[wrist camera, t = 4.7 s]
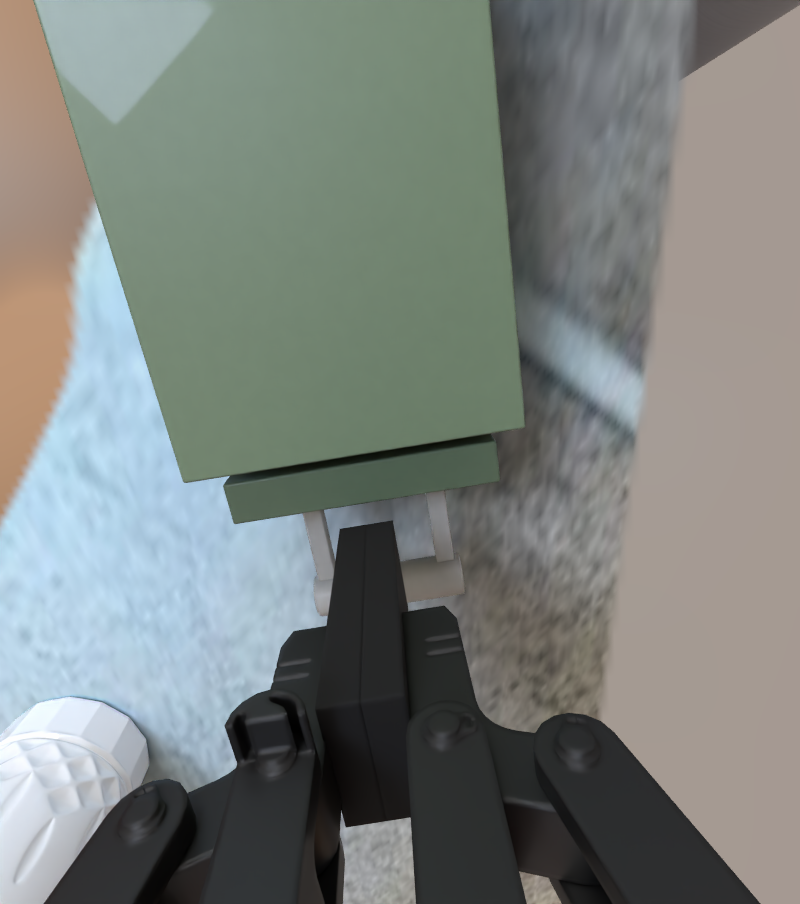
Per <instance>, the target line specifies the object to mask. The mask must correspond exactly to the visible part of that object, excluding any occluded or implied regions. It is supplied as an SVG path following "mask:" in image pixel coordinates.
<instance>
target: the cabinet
mask: <svg viewBox="0 0 800 904" xmlns="http://www.w3.org/2000/svg"><path fill="white" fill-rule="evenodd" d="M33 1H34V4H35V7H36V11H37V14H38V17H39V20H40V24H41V27H42V30H43V33H44V36H45V40H46V43H47V46H48V49H49V52H50V56H51V59H52V62H53V65H54V68H55V71H56V75H57V78H58V81H59V85H60V88H61V91H62V94H63V97H64V100H65V104H66V107H67V110H68V113H69V117H70V120H71V123H72V126H73V129H74V133H75V136H76V139H77V142H78V145H79V149H80V152H81V155H82V158H83V161H84V164H85V168H86V171H87V174H88V177H89V181H90V184H91V187H92V190H93V194H94V197H95V200H96V203H97V206H98V210H99V213H100V216H101V219H102V223H103V226H104V229H105V232H106V235H107V239H108V242H109V245H110V248H111V251H112V255H113V258H114V261H115V264H116V267H117V271H118V274H119V277H120V280H121V284H122V287H123V290H124V293H125V296H126V300H127V303H128V306H129V309H130V312H131V316H132V319H133V322H134V325H135V328H136V332H137V335H138V338H139V341H140V344H141V348H142V351H143V354H144V357H145V361H146V364H147V367H148V370H149V373H150V377H151V380H152V383H153V386H154V389H155V393H156V396H157V399H158V402H159V405H160V409H161V412H162V415H163V418H164V422H165V425H166V428H167V431H168V434H169V438H170V441H171V444H172V447H173V450H174V454H175V457H176V460H177V463H178V466H179V470H180V473H181V476H182V479H183V482H184V483H188V482H195V481H201V480H207V479H213V478H219V477H225V476H232V475H238V474H244V473H250V472H256V471H262V470H269V469H275V468H281V467H287V466H293V465H299V464H306V463H312V462H318V461H324V460H330V459H336V458H343V457H349V456H355V455H361V454H367V453H373V452H380V451H386V450H392V449H398V448H404V447H411V446H417V445H423V444H429V443H435V442H441V441H448V440H454V439H460V438H466V437H472V436H478V435H485V434H491V433H497V432H503V431H509V430H515V429H522V428H524V427H525V414H524V402H523V390H522V378H521V366H520V355H519V343H518V331H517V319H516V307H515V295H514V284H513V272H512V260H511V248H510V236H509V225H508V213H507V201H506V189H505V177H504V165H503V154H502V142H501V130H500V118H499V106H498V95H497V83H496V71H495V59H494V47H493V36H492V24H491V12H490V0H33Z"/></svg>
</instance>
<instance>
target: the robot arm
mask: <svg viewBox="0 0 800 904" xmlns="http://www.w3.org/2000/svg"><path fill="white" fill-rule="evenodd" d="M225 728H226V731H227V734H228V737H229V740H230V743H231V746H232V749H233V752H234V755H235V758H236V761H237V767H236V769H234V770H233V771H232V772H230V773H229V774H227V775H226V776H224V777H222V778H220V779H218V780H216V781H214V782H212V783H210V784H207V785H205V786H203V787H201V788H198V789H196V790H194V791H192V792H189V793H187V792H186V790H185V789H184V788H183V786H182V785H181V784H180V783H179V782H176V781H173V780H170V779H164V780H156V781H152V782H149V783H147V784H145V785H142V786H140V787H138V788H136V789H135V790H133V791H132V792H130V793H129V794H128V795H126V796H125V797H124V798H122V799H121V800H120V801H119V802H118V803H117V804H116V805H115V806H114V808H113V809H112V810H111V811H110V812H109V813H108V814H107V816H106V817H105V818H104V820H103V821H102V823H101V824H100V825H99V827H98V828H97V830H96V831H95V832H94V834H93V835H92V837H91V838H90V839H89V841H88V842H87V843H86V845H85V846H84V848H83V849H82V850H81V852H80V853H79V855H78V856H77V857H76V859H75V860H74V862H73V863H72V864H71V866H70V867H69V869H68V870H67V871H66V873H65V874H64V876H63V877H62V878H61V880H60V881H59V883H58V884H57V885H56V887H55V888H54V890H53V891H52V892H51V894H50V895H49V897H48V898H47V899H46V901H45V902H44V904H343V886H344V866H345V858H344V851H343V846H342V842H341V838H340V820H341V810H342V814H343V818H344V822H345V826H346V827H351V826H358V825H364V824H370V823H377V822H383V821H390V820H396V819H402V818H409V817H411V828H412V844H413V860H414V876H415V893H416V904H527V903H526V899H525V895H524V891H523V886H522V882H521V878H520V874H519V871H520V872H525V873H530V874H534V875H539V876H544V877H548V878H549V879H550V882H551V884H552V886H553V888H554V889H555V891H556V893H557V895H558V897H559V899H560V901H561V903H562V904H760V903H759V902H758V900H757V899H756V898H755V897H754V896H753V894H752V893H751V892H750V891H749V890H748V889H747V887H746V886H745V885H744V884H743V883H742V882H741V880H740V879H739V878H738V877H737V876H736V875H735V873H734V872H733V871H732V870H731V869H730V868H729V867H728V865H727V864H726V863H725V862H724V860H723V859H722V858H721V857H720V856H719V855H718V853H717V852H716V851H715V850H714V849H713V848H712V846H711V845H710V844H709V843H708V842H707V841H706V839H705V838H704V837H703V836H702V835H701V834H700V832H699V831H698V830H697V829H696V828H695V826H694V825H693V824H692V823H691V822H690V821H689V819H688V818H687V817H686V816H685V815H684V814H683V812H682V811H681V810H680V809H679V808H678V807H677V805H676V804H675V803H674V802H673V801H672V800H671V799H670V797H669V796H668V795H667V794H666V793H665V791H664V790H663V789H662V788H661V787H660V786H659V784H658V783H657V782H656V781H655V780H654V779H653V778H652V776H651V775H650V774H649V773H648V771H647V770H646V769H645V768H644V767H643V766H642V764H641V763H640V762H639V761H638V760H637V759H636V757H635V756H634V755H633V754H632V753H631V752H630V751H629V749H628V748H627V747H626V746H625V745H624V743H623V742H622V741H621V740H620V739H619V738H618V736H617V735H616V734H615V733H614V732H613V731H612V730H611V729H610V728H608V727H607V726H606V725H605V724H604V723H602V722H601V721H599V720H596V719H594V718H592V717H589V716H587V715H582V714H574V713H566V714H561V715H556V716H553V717H551V718H550V719H548V720H546V721H545V722H543V723H542V724H541V725H540V727H539V728H538V730H537V731H536V733H529V732H522V731H515V730H511V729H507V728H504V727H501V726H499V725H497V724H495V723H493V722H492V721H491V720H489V719H488V718H487V717H486V716H485V715H484V714H483V713H482V711H481V710H480V709H479V707H478V704H477V702H476V698H475V694H474V690H473V686H472V681H471V677H470V673H469V669H468V664H467V660H466V656H465V652H464V648H463V643H462V639H461V635H460V630H459V626H458V622H457V618H456V617H455V616H454V615H453V614H452V613H451V612H450V611H449V610H448V609H447V608H446V607H445V606H439V607H433V608H426V609H420V610H414V611H408V606H407V599H406V593H405V587H404V582H403V576H402V571H401V565H400V559H399V554H398V548H397V542H396V537H395V531H394V526H393V520H392V521H386V522H380V523H374V524H368V525H361V526H355V527H349V528H343V529H340V532H339V539H338V547H337V554H336V561H335V568H334V576H333V583H332V590H331V597H330V604H329V612H328V619H327V626H324V627H317V628H311V629H305V630H299V631H294V632H293V633H292V634H291V635H290V637H289V638H288V639H287V641H286V642H285V643H284V645H283V646H282V647H281V650H280V654H279V658H278V662H277V668H276V670H275V674H274V678H273V683H272V686H271V690H268V691H264V692H261V693H258V694H256V695H254V696H252V697H250V698H249V699H247V700H245V701H244V702H242V703H241V704H240V705H239V706H238V707H237V708H236V709H235V710H234V711H233V712H232V713H231V715H230V717H229V719H228V720H227V722H226V724H225Z"/></svg>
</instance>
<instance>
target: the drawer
mask: <svg viewBox="0 0 800 904" xmlns="http://www.w3.org/2000/svg"><path fill="white" fill-rule="evenodd" d="M498 481H500V473H499V463H498V454H497V444H496V441H495V440H494V438H493V437H492V435H491V434H485V435H478V436H472V437H466V438H460V439H454V440H448V441H441V442H435V443H429V444H423V445H417V446H411V447H404V448H398V449H392V450H386V451H380V452H373V453H367V454H361V455H355V456H349V457H343V458H336V459H330V460H324V461H318V462H312V463H306V464H299V465H293V466H287V467H281V468H275V469H269V470H262V471H256V472H250V473H244V474H238V475H232V476H230V477H229V478H228V479H227V481H226V482H225V484H224V486H223V487H224V491H225V494H226V498H227V501H228V505H229V508H230V512H231V515H232V519H233V522H234V524H238V523H244V522H251V521H257V520H263V519H269V518H275V517H282V516H288V515H294V514H300V513H303V517H304V521H305V525H306V530H307V534H308V538H309V542H310V546H311V551H312V555H313V559H314V563H315V567H316V571H317V575H316V576H315V579H314V598H315V604H316V608H317V611H318V613H319V615H320V616H327V615H328V612H329V604H330V597H331V590H332V583H333V576H334V568H335V558H334V554H333V549H332V545H331V540H330V536H329V531H328V527H327V522H326V518H325V513H324V510H325V509H331V508H338V507H344V506H350V505H356V504H363V503H369V502H375V501H381V500H387V499H394V498H400V497H406V496H412V495H418V494H425V493H426V498H427V505H428V511H429V518H430V524H431V531H432V537H433V544H434V550H435V556H431V557H424V558H418V559H412V560H405V561H400V565H401V571H402V576H403V582H404V587H405V593H406V599H407V603H409V602H415V601H422V600H428V599H434V598H441V597H447V596H453V595H460V594H464V593H465V582H464V576H463V570H462V565H461V560H460V557H459V554H458V553H454V552H453V545H452V538H451V531H450V524H449V517H448V510H447V503H446V496H445V490H450V489H456V488H462V487H468V486H474V485H481V484H487V483H493V482H498Z"/></svg>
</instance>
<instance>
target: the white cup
mask: <svg viewBox="0 0 800 904" xmlns="http://www.w3.org/2000/svg"><path fill="white" fill-rule="evenodd" d="M148 767H149V756H148V749H147V741H146V738H145V737H144V736H143V734H142V733H141V732H140V731H139V729H138V728H137V727H136V725H135V724H134V723H133V722H132V720H131V719H130V718H129V717H128V716H126V715H124V714H122V713H121V712H119V711H117V710H115V709H114V708H112V707H110V706H108V705H106V704H105V703H103V702H98V701H93V700H87V699H82V698H76V697H64V698H59V699H53V700H48V701H42V702H38V703H37V704H36V705H34V706H33V707H31V708H30V709H28V710H27V711H26V712H24V713H23V714H21V715H20V716H19V717H17V718H16V719H15V720H14V721H13V722H12V723H11V724H10V725H9V727H8V728H7V729H6V730H5V731H4V732H3V733H2V735H1V736H0V904H44V902H45V901H46V899H47V898H48V897H49V895H50V894H51V892H52V891H53V890H54V888H55V887H56V885H57V884H58V883H59V881H60V880H61V878H62V877H63V876H64V874H65V873H66V871H67V870H68V869H69V867H70V866H71V864H72V863H73V862H74V860H75V859H76V857H77V856H78V855H79V853H80V852H81V850H82V849H83V848H84V846H85V845H86V843H87V842H88V841H89V839H90V838H91V837H92V835H93V834H94V832H95V831H96V830H97V828H98V827H99V825H100V824H101V823H102V821H103V820H104V818H105V817H106V816H107V814H108V813H109V812H110V811H111V810H112V809H113V808H114V806H115V805H116V804H117V803H118V802H119V801H120V800H121V799H122V798H124V797H125V796H126V795H128V794H129V793H130V792H132V791H133V790H135V789H136V788H138V787H140V786H141V784H142V781H143V779H144V776H145V774H146V772H147V769H148Z"/></svg>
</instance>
